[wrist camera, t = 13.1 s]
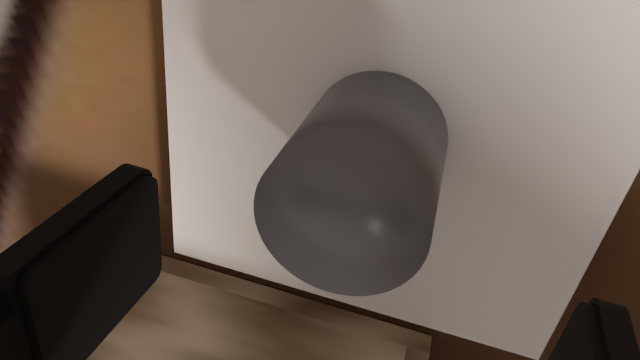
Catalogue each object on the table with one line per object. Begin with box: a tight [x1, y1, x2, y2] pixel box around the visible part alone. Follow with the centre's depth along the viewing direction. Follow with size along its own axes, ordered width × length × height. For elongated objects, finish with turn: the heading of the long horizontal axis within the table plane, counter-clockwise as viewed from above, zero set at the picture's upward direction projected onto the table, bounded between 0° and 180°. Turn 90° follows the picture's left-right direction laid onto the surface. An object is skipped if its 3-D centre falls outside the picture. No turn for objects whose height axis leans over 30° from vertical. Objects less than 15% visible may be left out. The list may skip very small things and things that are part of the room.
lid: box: [162, 0, 640, 360], centre depth 15 cm, size 15×15×6 cm
